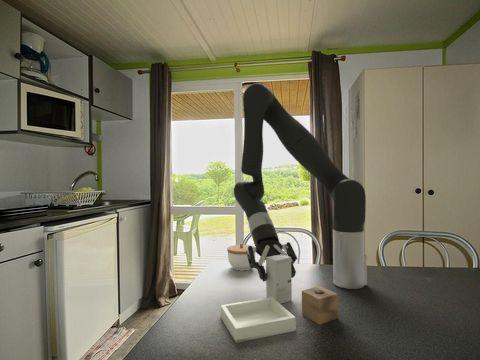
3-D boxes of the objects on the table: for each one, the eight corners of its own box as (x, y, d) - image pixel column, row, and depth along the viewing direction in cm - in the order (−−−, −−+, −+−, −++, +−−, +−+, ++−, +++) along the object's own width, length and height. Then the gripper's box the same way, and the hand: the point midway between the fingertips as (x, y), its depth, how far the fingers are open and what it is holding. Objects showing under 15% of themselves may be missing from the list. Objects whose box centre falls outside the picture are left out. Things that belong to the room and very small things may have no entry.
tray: (272, 308, 77) (272, 296, 77) (295, 330, 66) (295, 317, 66) (220, 317, 72) (220, 305, 72) (236, 343, 61) (235, 328, 61)
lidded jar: (238, 262, 119) (238, 239, 119) (261, 267, 113) (261, 242, 113) (221, 269, 110) (221, 244, 110) (245, 274, 104) (244, 248, 104)
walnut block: (319, 309, 77) (319, 285, 77) (337, 318, 71) (337, 293, 71) (302, 314, 74) (301, 290, 74) (319, 324, 68) (319, 298, 68)
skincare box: (275, 305, 79) (275, 260, 78) (265, 300, 82) (264, 256, 82) (292, 300, 82) (292, 256, 82) (282, 295, 86) (281, 253, 86)
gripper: (244, 224, 87) (259, 274, 77) (286, 221, 92) (307, 268, 81) (238, 238, 92) (252, 288, 82) (279, 235, 97) (297, 281, 86)
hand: (279, 278), depth 82 cm, fingers open, 8 cm apart
